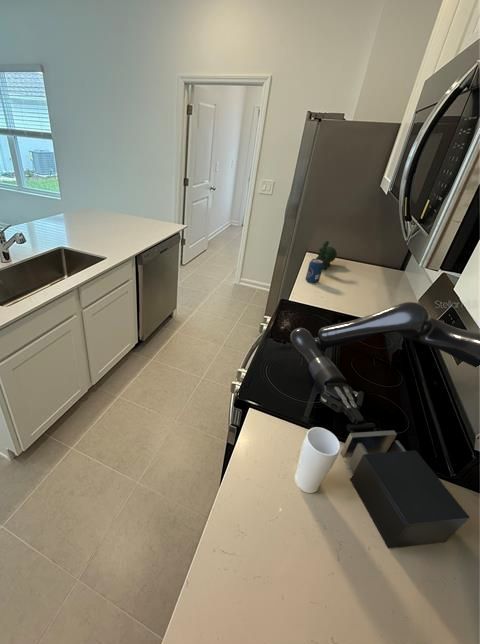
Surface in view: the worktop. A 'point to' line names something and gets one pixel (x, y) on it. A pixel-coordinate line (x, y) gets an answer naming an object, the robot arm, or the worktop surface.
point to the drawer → (368, 442)
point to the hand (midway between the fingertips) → (359, 423)
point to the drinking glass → (316, 458)
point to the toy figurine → (326, 255)
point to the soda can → (314, 271)
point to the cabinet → (406, 499)
